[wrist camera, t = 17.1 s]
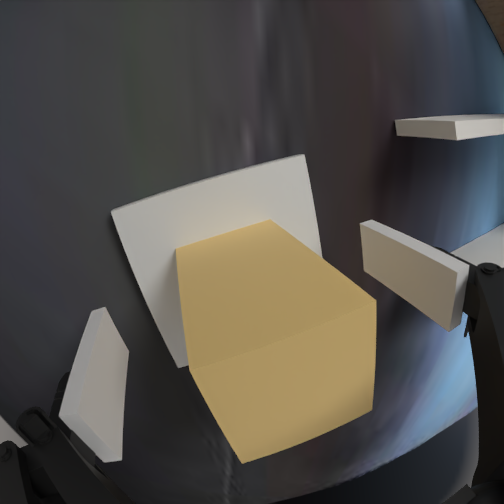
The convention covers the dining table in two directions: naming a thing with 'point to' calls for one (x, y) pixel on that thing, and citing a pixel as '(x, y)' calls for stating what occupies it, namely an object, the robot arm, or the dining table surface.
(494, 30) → the wooden block
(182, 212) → the tile
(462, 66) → the dining table surface
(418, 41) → the dining table surface
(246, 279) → the block
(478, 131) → the white u-shaped frame
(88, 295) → the dining table surface
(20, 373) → the dining table surface
